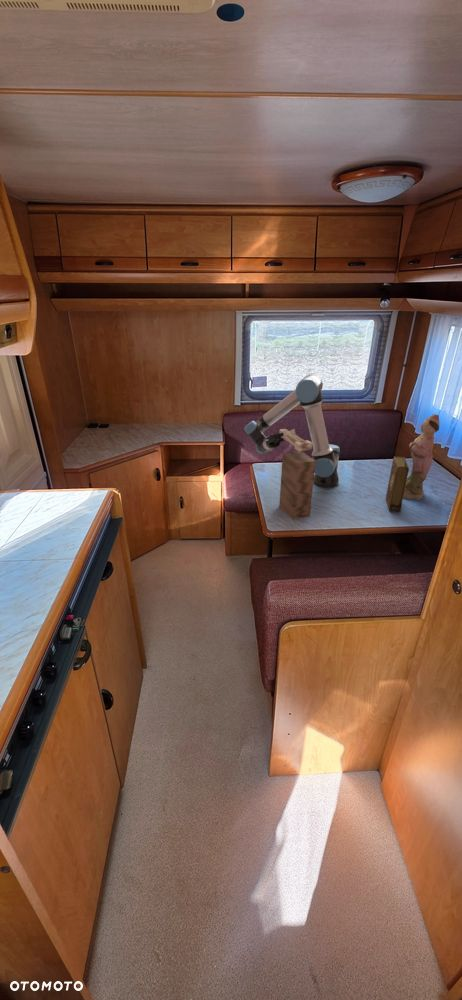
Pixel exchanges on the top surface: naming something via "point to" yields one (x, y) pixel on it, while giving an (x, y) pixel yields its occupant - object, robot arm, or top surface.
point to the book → (397, 483)
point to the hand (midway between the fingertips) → (290, 432)
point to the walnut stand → (297, 484)
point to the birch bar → (297, 441)
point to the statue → (421, 458)
